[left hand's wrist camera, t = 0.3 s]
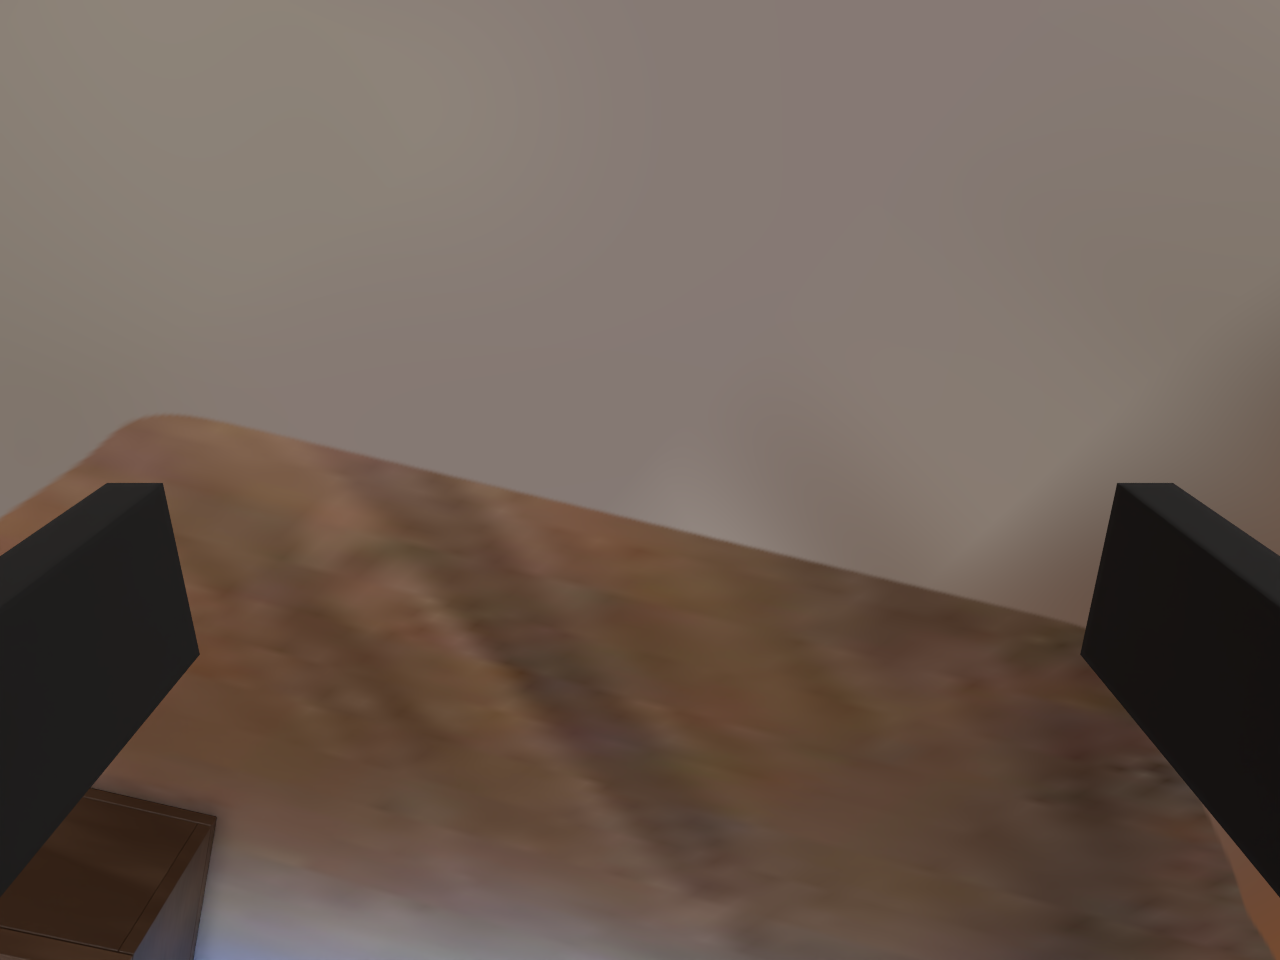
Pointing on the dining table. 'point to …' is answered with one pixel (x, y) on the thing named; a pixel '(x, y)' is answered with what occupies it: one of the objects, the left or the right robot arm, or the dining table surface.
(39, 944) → the lid
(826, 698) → the dining table surface
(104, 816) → the chest
